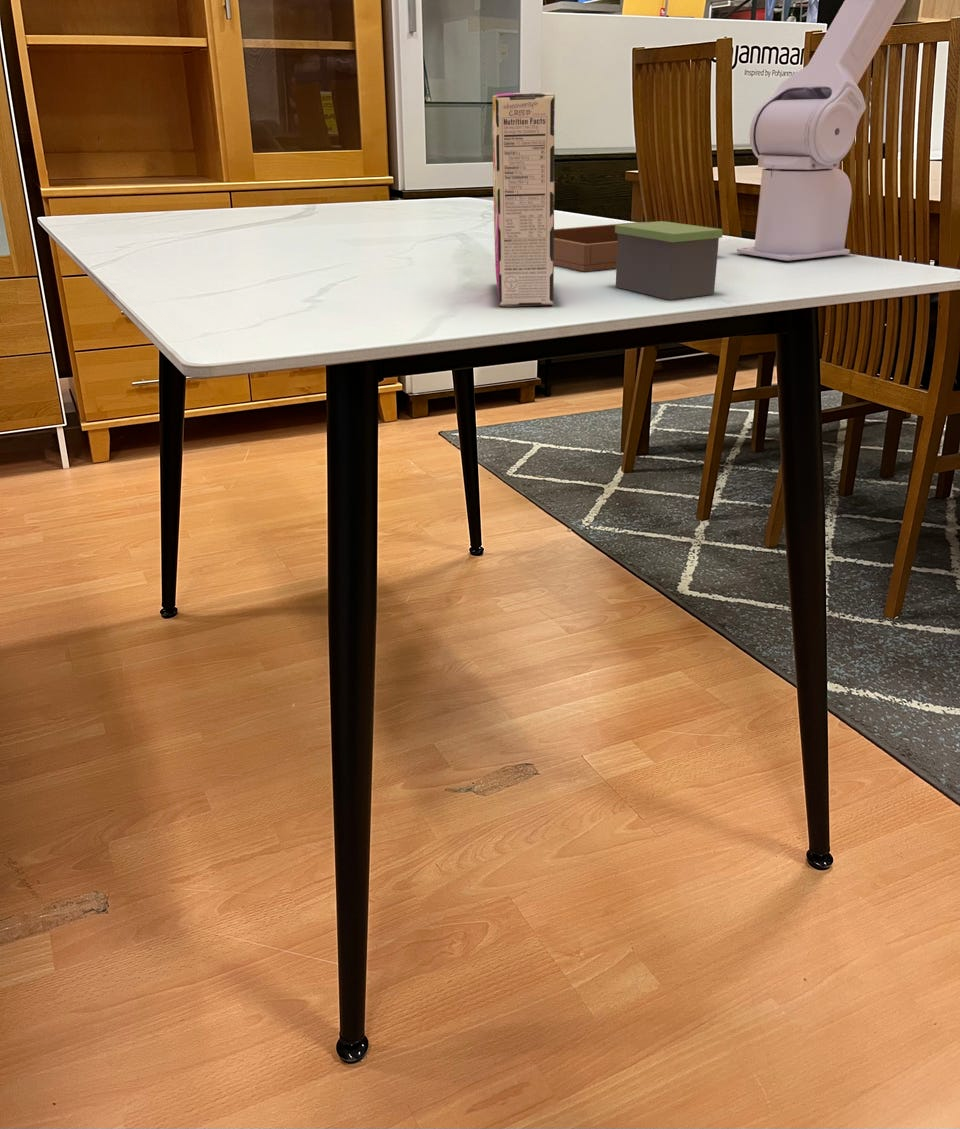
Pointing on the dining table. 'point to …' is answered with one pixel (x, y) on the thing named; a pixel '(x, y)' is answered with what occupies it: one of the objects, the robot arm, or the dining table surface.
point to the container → (667, 259)
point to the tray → (586, 247)
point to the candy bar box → (524, 197)
